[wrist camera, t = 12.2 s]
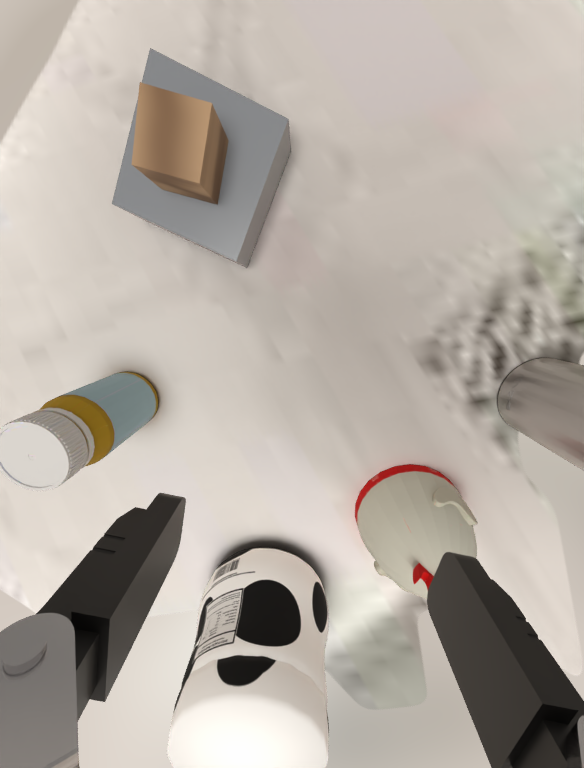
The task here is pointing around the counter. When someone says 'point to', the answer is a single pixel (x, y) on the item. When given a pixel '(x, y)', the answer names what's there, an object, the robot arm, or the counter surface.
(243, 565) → the milk container
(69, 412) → the bottle
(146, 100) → the walnut cube
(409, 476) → the kitchen timer
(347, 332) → the counter surface
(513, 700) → the robot arm
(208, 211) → the gray square block
